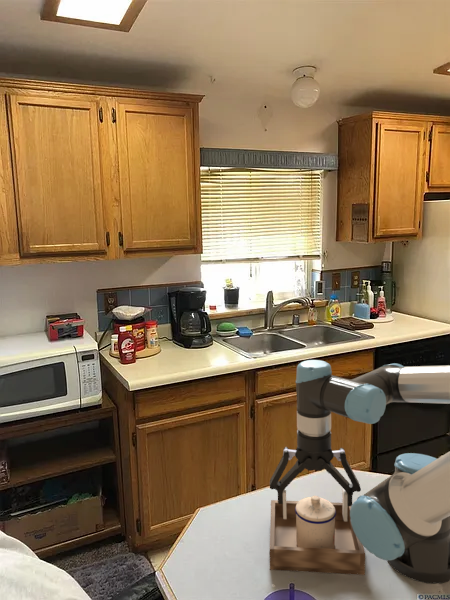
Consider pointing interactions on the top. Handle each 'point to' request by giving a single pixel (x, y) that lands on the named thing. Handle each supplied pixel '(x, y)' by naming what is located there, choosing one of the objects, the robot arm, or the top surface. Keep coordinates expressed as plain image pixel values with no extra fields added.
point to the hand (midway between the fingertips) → (314, 516)
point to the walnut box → (293, 558)
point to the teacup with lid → (315, 523)
